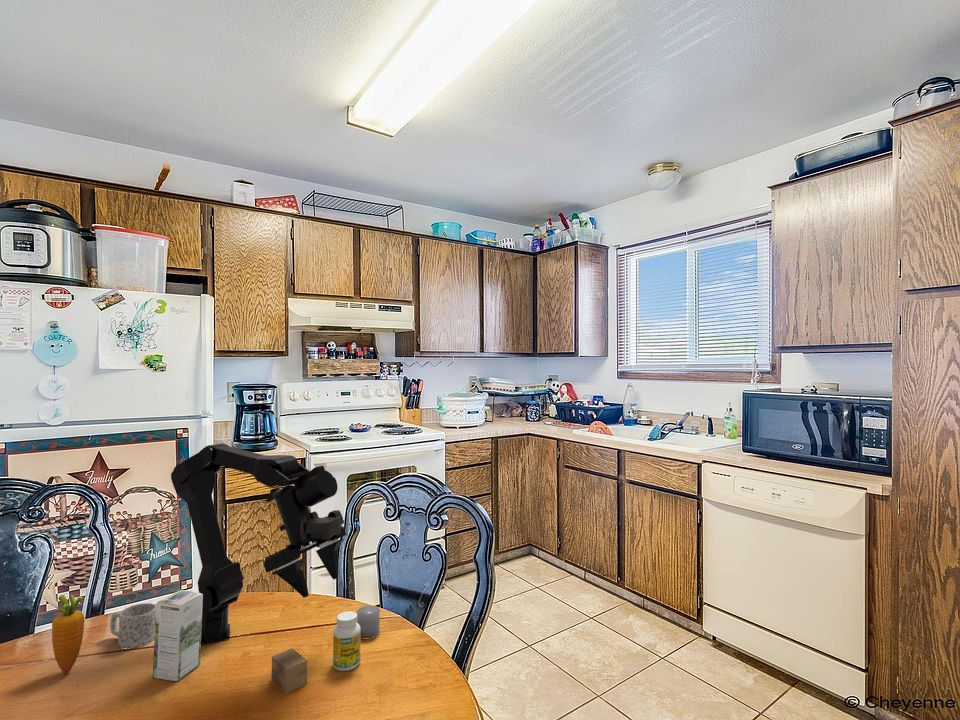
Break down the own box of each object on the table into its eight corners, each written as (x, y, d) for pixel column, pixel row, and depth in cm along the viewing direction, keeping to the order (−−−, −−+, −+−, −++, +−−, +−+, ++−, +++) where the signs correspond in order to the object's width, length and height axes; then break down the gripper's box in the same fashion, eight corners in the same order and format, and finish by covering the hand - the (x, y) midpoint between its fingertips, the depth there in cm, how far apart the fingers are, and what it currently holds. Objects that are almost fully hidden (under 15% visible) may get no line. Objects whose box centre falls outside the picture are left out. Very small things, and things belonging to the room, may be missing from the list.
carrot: (89, 668, 97) (91, 591, 98) (60, 683, 92) (63, 601, 93) (72, 663, 99) (74, 587, 99) (43, 677, 94) (46, 597, 95)
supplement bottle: (355, 653, 103) (355, 607, 104) (364, 666, 99) (365, 617, 99) (329, 661, 100) (330, 613, 101) (337, 675, 96) (338, 624, 96)
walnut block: (271, 680, 94) (271, 656, 94) (291, 671, 97) (291, 648, 97) (286, 694, 90) (286, 669, 90) (306, 684, 93) (307, 660, 93)
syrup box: (176, 661, 100) (178, 588, 100) (201, 665, 99) (203, 591, 99) (152, 678, 94) (154, 601, 95) (178, 682, 93) (180, 604, 94)
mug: (162, 634, 110) (163, 604, 110) (137, 651, 104) (138, 618, 104) (124, 630, 112) (125, 600, 112) (96, 646, 105) (97, 614, 106)
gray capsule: (354, 630, 113) (354, 608, 113) (375, 625, 115) (376, 603, 115) (359, 641, 108) (360, 618, 108) (382, 635, 111) (382, 613, 111)
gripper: (292, 511, 92) (321, 594, 89) (351, 490, 110) (377, 558, 107) (250, 532, 95) (277, 612, 93) (314, 508, 113) (338, 575, 110)
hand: (321, 587), depth 100 cm, fingers open, 9 cm apart
